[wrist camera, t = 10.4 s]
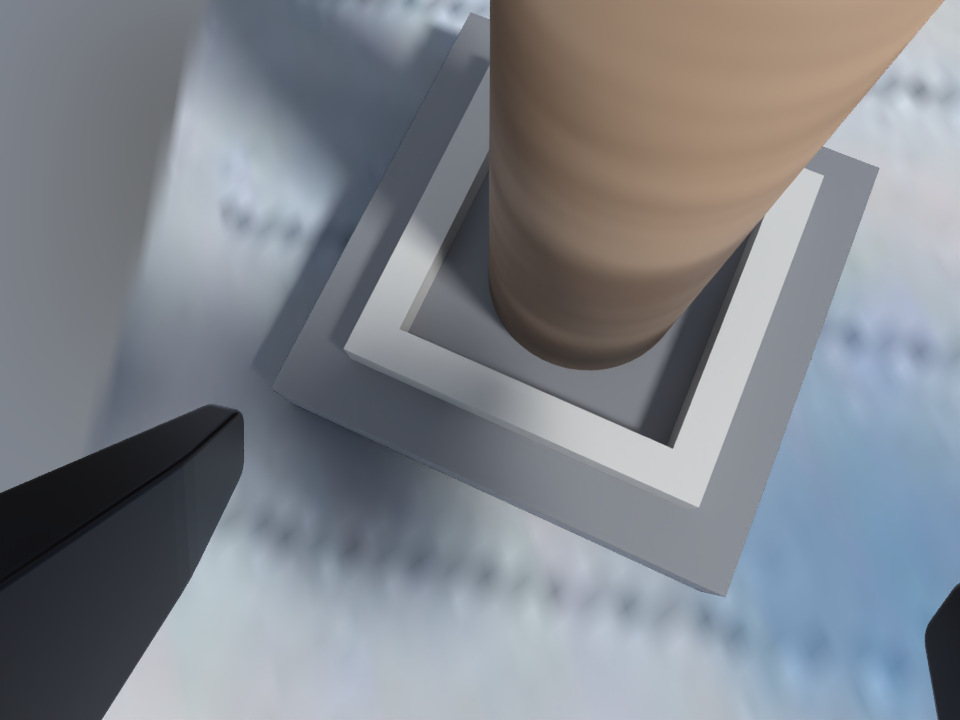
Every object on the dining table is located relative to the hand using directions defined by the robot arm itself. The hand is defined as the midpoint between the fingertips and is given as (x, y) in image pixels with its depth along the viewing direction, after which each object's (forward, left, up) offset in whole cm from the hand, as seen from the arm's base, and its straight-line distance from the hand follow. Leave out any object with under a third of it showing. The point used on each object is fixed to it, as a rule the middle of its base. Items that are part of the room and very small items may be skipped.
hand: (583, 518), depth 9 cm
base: (+6, +2, -11) cm, 12 cm away
